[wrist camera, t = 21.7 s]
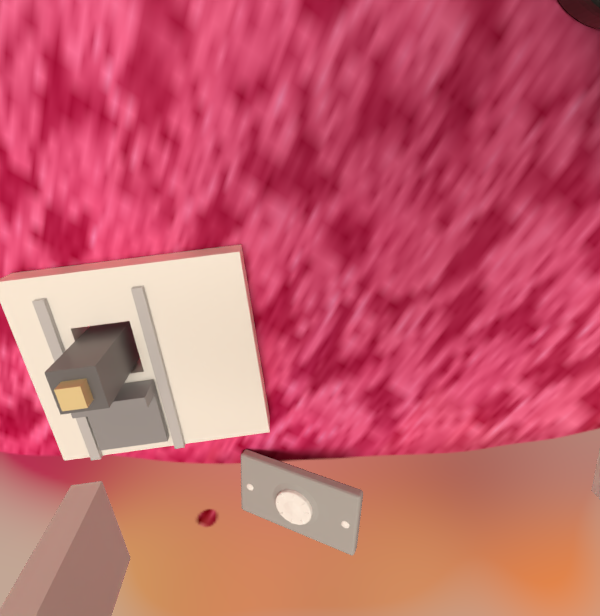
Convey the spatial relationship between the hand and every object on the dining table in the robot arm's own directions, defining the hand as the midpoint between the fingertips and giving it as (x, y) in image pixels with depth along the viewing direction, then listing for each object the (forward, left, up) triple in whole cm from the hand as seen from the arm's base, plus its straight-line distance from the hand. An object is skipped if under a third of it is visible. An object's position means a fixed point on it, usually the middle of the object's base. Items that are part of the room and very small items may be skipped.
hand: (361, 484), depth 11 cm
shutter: (+15, -19, -29) cm, 38 cm away
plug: (+8, -19, -32) cm, 38 cm away
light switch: (+29, -3, -32) cm, 44 cm away
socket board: (+10, -16, -32) cm, 37 cm away
